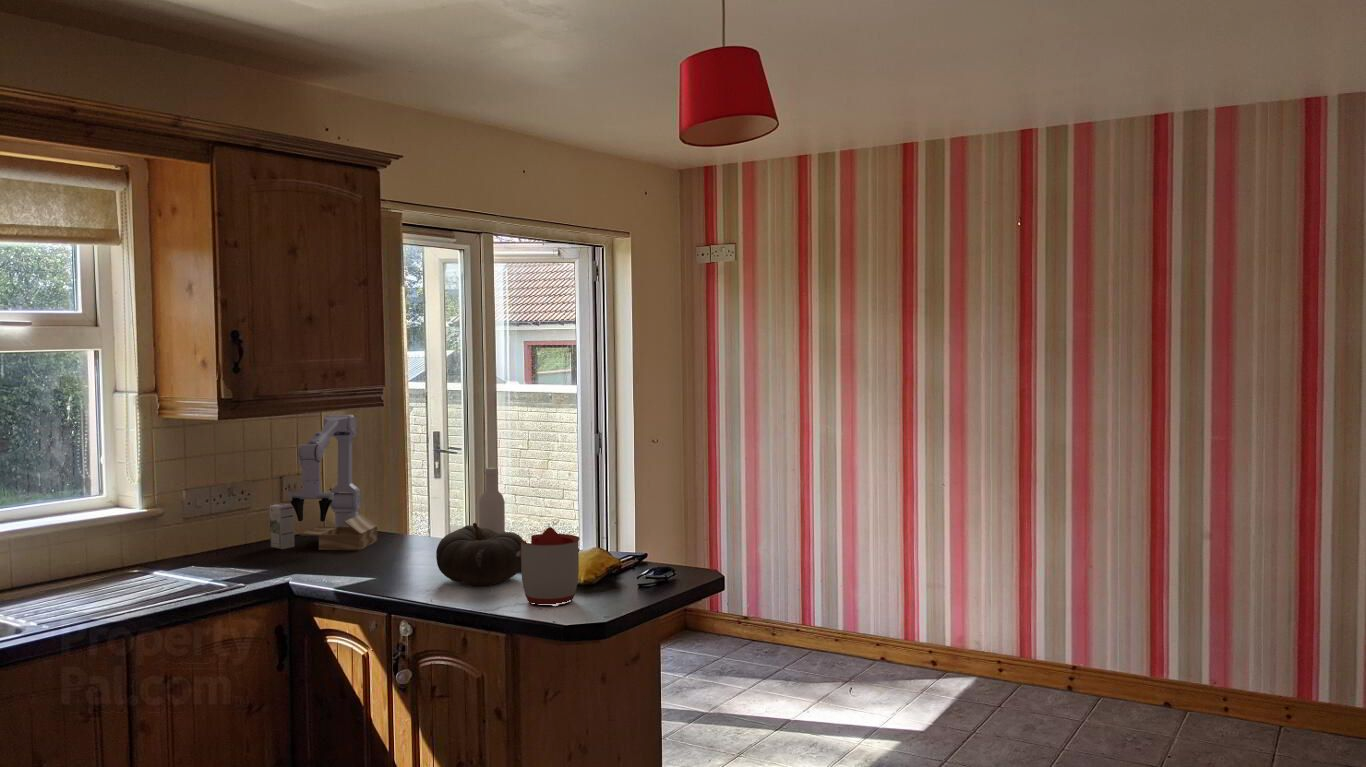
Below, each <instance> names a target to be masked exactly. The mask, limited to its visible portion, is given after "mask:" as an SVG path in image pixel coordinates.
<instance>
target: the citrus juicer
mask: <svg viewBox="0 0 1366 767" xmlns="http://www.w3.org/2000/svg"><path fill="white" fill-rule="evenodd" d="M522 539H523V538H522ZM522 539H520V551H518V552H517V554H516V556H520V559H521V569H520V572H521V582H522V588H523V590H524V595H525V598H526V600H527V602H528V601H529V602H531V603H535V604H556V603H562V602H567V601H569V600H572V599H573V600H574V597H575V595H576V591H577V587H578V582H579V575H580V574H579V571H580V569H579V566H580V565H579V564H580V563H579V561H580V560H579V559H580V555H579V554H580V553H579V551H580V550H579V549H580V548H579V545H580V544H579V541H580V537H579V536H578V535H573V534H568V533H558V532H557V531H556V530H555V529H554V528H552V527H551V526H549V527H548V528H546V529H545V530H544V531H543V532H542V533H539V534H537V533H536V534H532V535H531V538H530V543H529V542H527V541H526V540H524V539H523V540H522ZM573 600H572V601H573ZM529 602H528V603H529Z"/></svg>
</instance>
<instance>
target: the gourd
mask: <svg viewBox="0 0 1366 767" xmlns="http://www.w3.org/2000/svg"><path fill="white" fill-rule="evenodd" d="M520 539H522V540H524V539H523V537H522V536H520V535H519V534H518V533H515V532H512V531H505V532H502V533H497V532H494V531H492V530H489V529H487V528H483V529H482V528H480V527H479V525H478V524H477V523H476V522H473V523H472V524H468V525H467V524H466V525H464V526H463V527H461V528H458V529H456V530H454V531H452V532H449V533H448V534H446V535H445V536H444V537H443V538H441V540H440V541H439V543H438V545H437V547H436V552H435V553H436V554H435V555H436V556H435V557H436V565H437V567H438V570H439V571H440V573H442V574H443V575H444V576H445V577H446V578H448V579H449V580H451V581H453V582H456V583H465V584H467V585H470V586H482V585H484V586H490V585H489V584H491V585H496V584H498V583H502V582H504V581H506V580H509V579H511V578H513V577H515V575H517V574H518V573H519V572H521V559H520V556H516V554H517V552H518V551H520ZM495 583H496V584H495Z"/></svg>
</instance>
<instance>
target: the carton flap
mask: <svg viewBox="0 0 1366 767" xmlns="http://www.w3.org/2000/svg"><path fill="white" fill-rule="evenodd" d="M344 523H345V524H346V525H348V526H349V527H350V528H352V529H353V530H355V531H356V532H357V533H359V534H360V535H361V534H363V533H365V532H367V531H369V530H372V529H374V528H376V527H377V528H378V525H376V524H375V523H373V522H372V521H371V520H369V518H367V517H366V516H364V515H363V514H359V515H358V516H356V517H354V518H351V519H349V520H346V521H344Z"/></svg>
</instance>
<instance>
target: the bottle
mask: <svg viewBox="0 0 1366 767" xmlns="http://www.w3.org/2000/svg"><path fill="white" fill-rule="evenodd" d="M498 470H499V469H498V468H497V467H487V468H485V472H484V474H485V491H484V492H483V493H482V494H481V496H480V499H479V502H478V511H479V512H478V517H479V519H478V520H479V521H478V523H479V524H478V527H480V528H482V529H483V528H487V529H489V530H492V531H494V532H497V533H502V532H506V521H505V519H506V518H505V516H506V515H505V514H506V512H505V511H506V508H505V507H506V506H505V504H506V503H505V498H504V495H503V494H502V493H501V492H500V491H499V490H498V488H499V486H498V480H499V479H498V474H499V471H498Z"/></svg>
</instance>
